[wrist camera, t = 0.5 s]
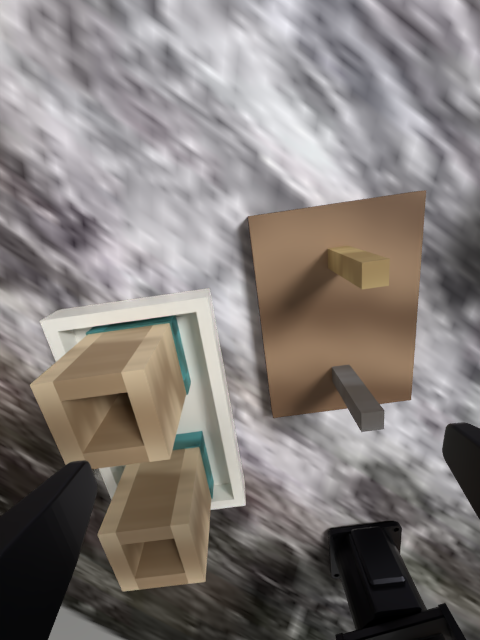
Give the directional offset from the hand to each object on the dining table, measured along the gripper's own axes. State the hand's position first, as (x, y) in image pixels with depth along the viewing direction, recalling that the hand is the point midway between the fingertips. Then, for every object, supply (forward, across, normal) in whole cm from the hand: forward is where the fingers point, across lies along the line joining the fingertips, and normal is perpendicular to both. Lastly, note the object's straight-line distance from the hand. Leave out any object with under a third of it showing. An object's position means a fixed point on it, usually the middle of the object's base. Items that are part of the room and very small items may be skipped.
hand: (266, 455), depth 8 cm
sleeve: (+12, +7, +12) cm, 19 cm away
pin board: (+13, -6, +1) cm, 14 cm away
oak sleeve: (+12, +7, +3) cm, 15 cm away
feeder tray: (+13, +7, +7) cm, 17 cm away
